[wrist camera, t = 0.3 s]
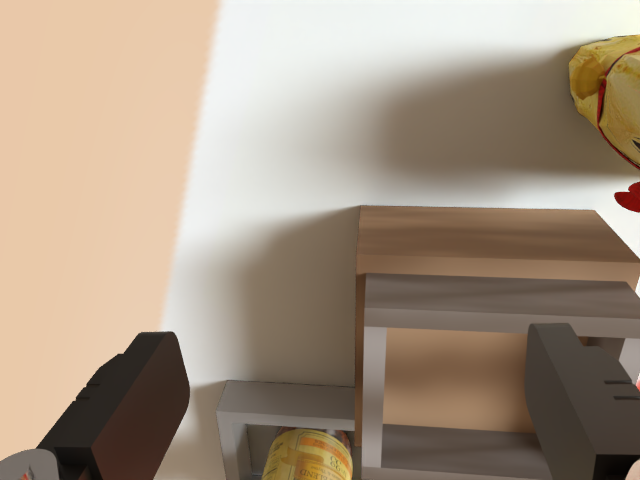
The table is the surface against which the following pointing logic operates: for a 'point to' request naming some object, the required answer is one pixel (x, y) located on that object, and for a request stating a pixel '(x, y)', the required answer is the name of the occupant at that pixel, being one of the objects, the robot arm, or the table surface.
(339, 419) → the low holder
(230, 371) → the table surface
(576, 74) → the chocolate bunny
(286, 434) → the sauce bottle
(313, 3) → the table surface
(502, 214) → the walnut dock
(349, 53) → the table surface
